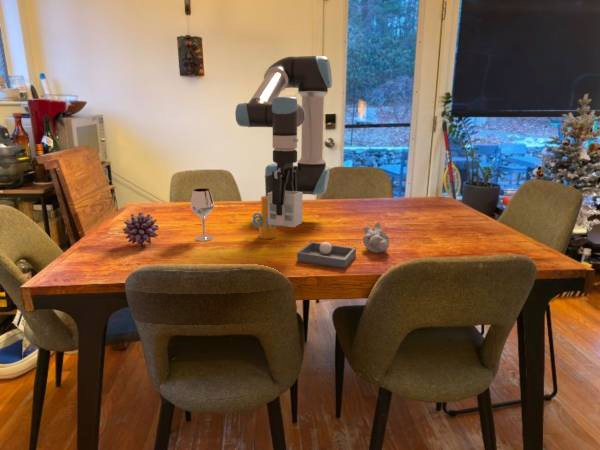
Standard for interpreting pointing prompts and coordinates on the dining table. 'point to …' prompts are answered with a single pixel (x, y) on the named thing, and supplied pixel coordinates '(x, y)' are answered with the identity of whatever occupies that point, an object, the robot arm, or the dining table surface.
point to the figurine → (375, 239)
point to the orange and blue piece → (264, 221)
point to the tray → (327, 256)
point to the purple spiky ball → (140, 228)
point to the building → (287, 208)
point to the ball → (325, 248)
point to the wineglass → (202, 208)
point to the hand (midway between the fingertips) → (285, 221)
